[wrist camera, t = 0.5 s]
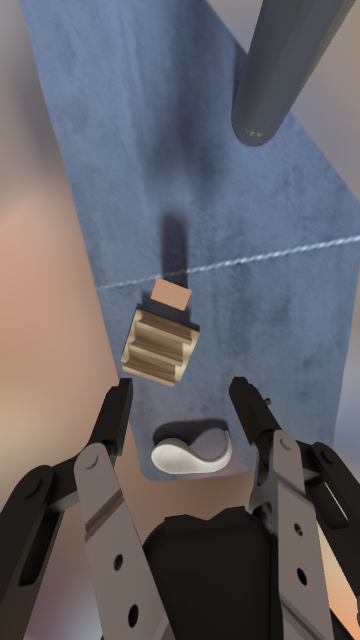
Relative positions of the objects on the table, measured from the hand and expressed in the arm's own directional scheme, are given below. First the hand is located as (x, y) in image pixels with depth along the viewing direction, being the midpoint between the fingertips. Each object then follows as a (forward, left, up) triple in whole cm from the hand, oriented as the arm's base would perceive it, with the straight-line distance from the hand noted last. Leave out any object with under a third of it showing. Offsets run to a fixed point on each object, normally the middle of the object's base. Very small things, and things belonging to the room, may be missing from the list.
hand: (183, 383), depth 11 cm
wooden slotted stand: (+9, -3, -24) cm, 26 cm away
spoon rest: (+35, +16, -25) cm, 46 cm away
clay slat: (-5, -4, -24) cm, 25 cm away
